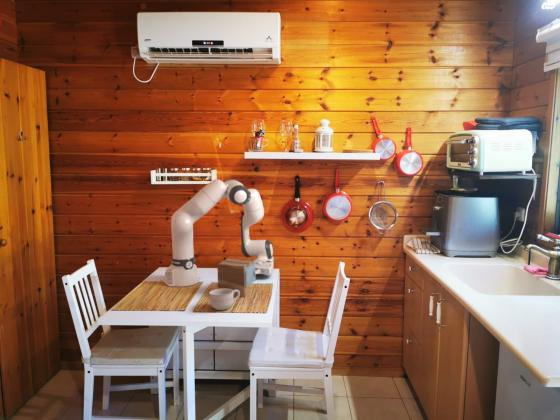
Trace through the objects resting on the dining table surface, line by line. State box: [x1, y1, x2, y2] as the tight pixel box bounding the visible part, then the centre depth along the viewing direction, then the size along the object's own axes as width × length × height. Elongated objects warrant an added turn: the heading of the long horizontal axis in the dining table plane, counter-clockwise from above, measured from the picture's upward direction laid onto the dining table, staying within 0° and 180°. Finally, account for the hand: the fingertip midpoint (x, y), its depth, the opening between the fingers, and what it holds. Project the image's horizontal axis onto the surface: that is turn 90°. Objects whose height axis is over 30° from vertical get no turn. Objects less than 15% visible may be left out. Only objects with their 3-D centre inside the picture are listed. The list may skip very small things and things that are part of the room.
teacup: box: [208, 288, 240, 311], centre depth 201 cm, size 14×11×8 cm
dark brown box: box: [216, 258, 254, 298], centre depth 222 cm, size 12×14×16 cm
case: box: [245, 264, 257, 288], centre depth 237 cm, size 14×4×9 cm, turn 162°
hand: (250, 272), depth 240 cm, fingers closed on case, 3 cm apart
